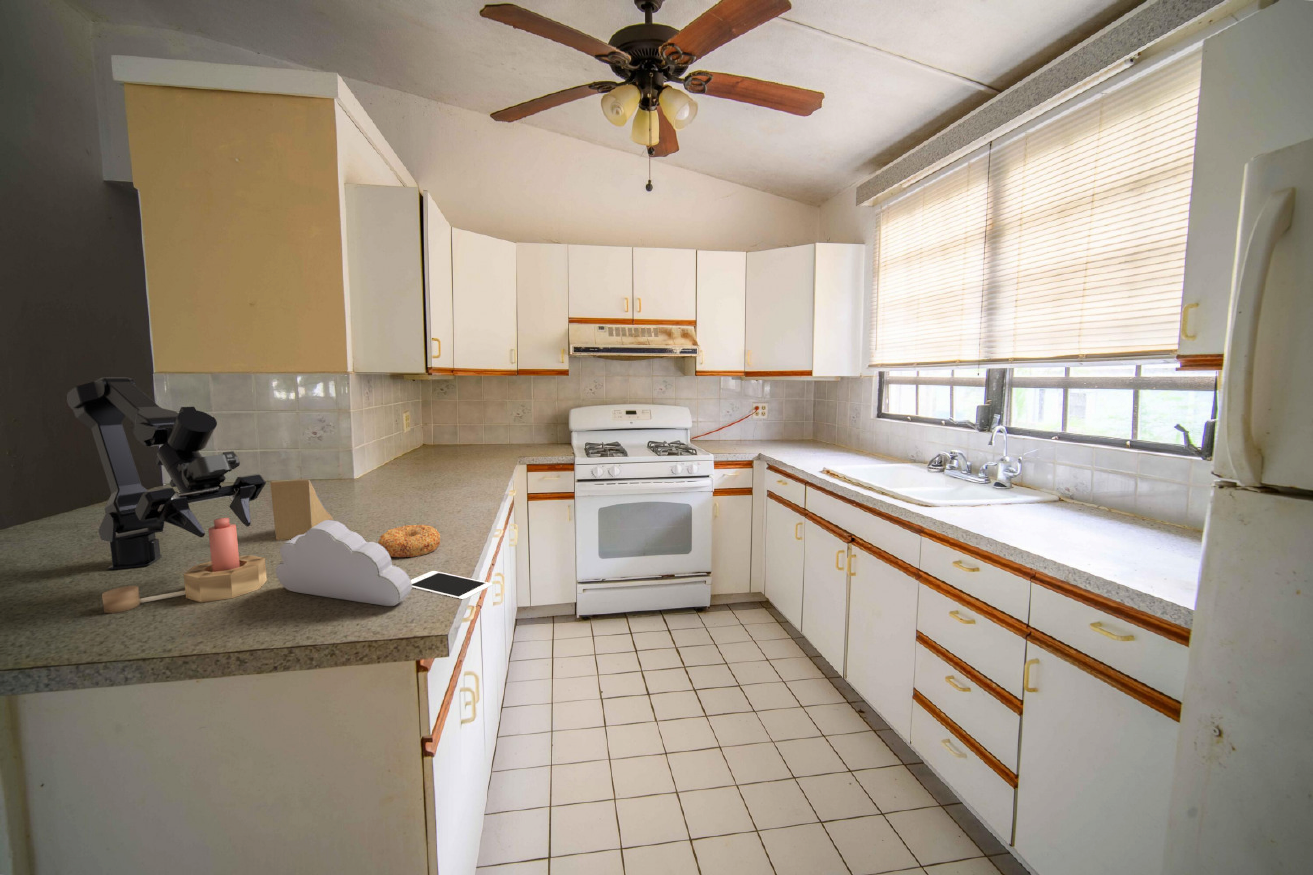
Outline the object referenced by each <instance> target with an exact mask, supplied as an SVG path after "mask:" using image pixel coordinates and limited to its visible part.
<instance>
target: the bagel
mask: <svg viewBox="0 0 1313 875" xmlns="http://www.w3.org/2000/svg"><path fill="white" fill-rule="evenodd" d="M377 543H379V544H380V545H382V546H383V547H384V548H385V549H386V550H387V551H388V553H389V555H390V557H391V558H409V557H410V558H413V557H418V556H419V557H420V556H425V555H427V554H430V553H432V552H433V553H434V552H435V551H436V550H437V549H438V548H439V547H440V544H441V533H440V532H439V531H438V530H437V528H434V527H433V526H431V525H428V524H427V525H426V524H411V525H409V524H407V525H401V526H398V527H395V528H389V529H388V530H387V531H386V532H384V533H383V534H382V535H380V537H379V539H378V541H377Z"/></svg>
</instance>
